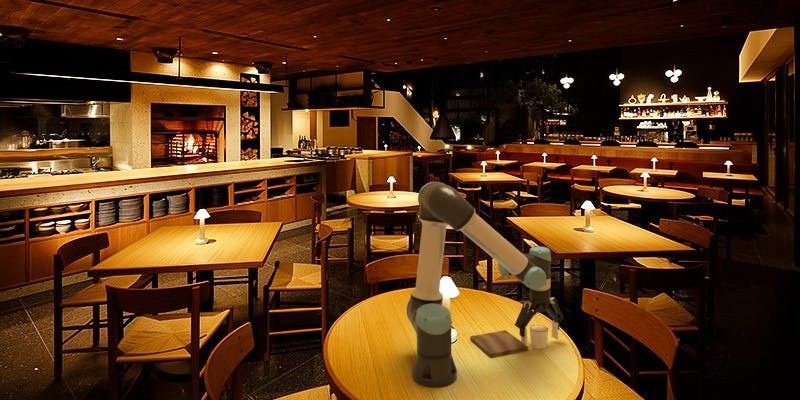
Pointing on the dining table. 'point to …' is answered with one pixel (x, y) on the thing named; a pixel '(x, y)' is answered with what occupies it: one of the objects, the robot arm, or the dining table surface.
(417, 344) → the robot arm
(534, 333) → the beige cylinder
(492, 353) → the serving board
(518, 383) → the dining table surface
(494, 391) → the dining table surface
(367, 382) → the dining table surface
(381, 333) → the dining table surface
